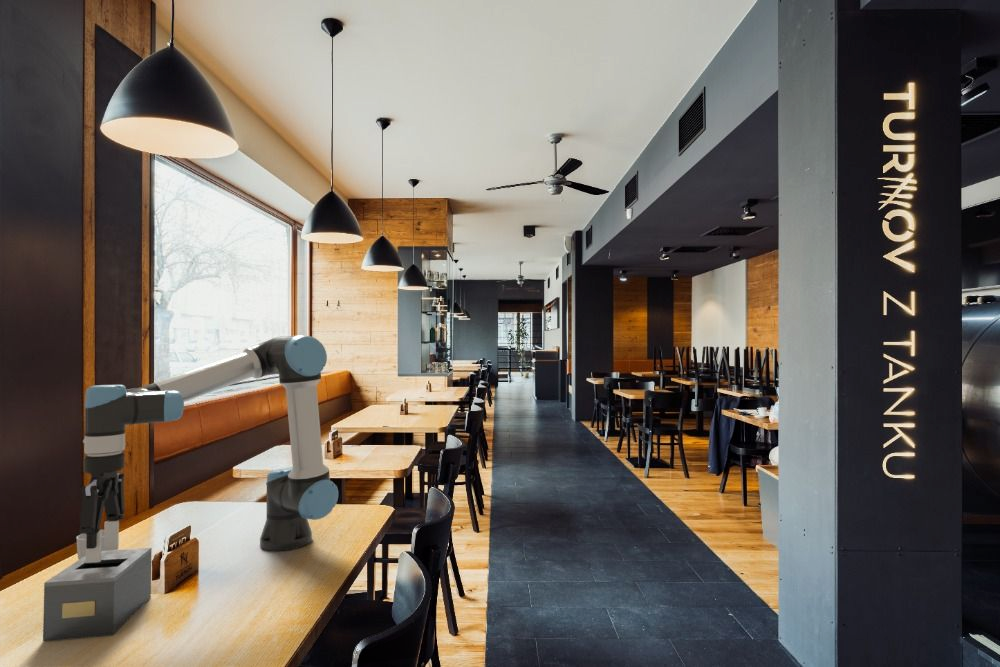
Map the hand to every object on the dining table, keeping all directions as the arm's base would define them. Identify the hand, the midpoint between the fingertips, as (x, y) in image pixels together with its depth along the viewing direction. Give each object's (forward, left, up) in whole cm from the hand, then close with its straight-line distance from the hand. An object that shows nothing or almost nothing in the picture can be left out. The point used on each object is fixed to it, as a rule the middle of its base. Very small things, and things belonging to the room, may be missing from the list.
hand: (102, 555), depth 123 cm
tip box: (0, 0, -14) cm, 14 cm away
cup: (+16, -30, -14) cm, 36 cm away
